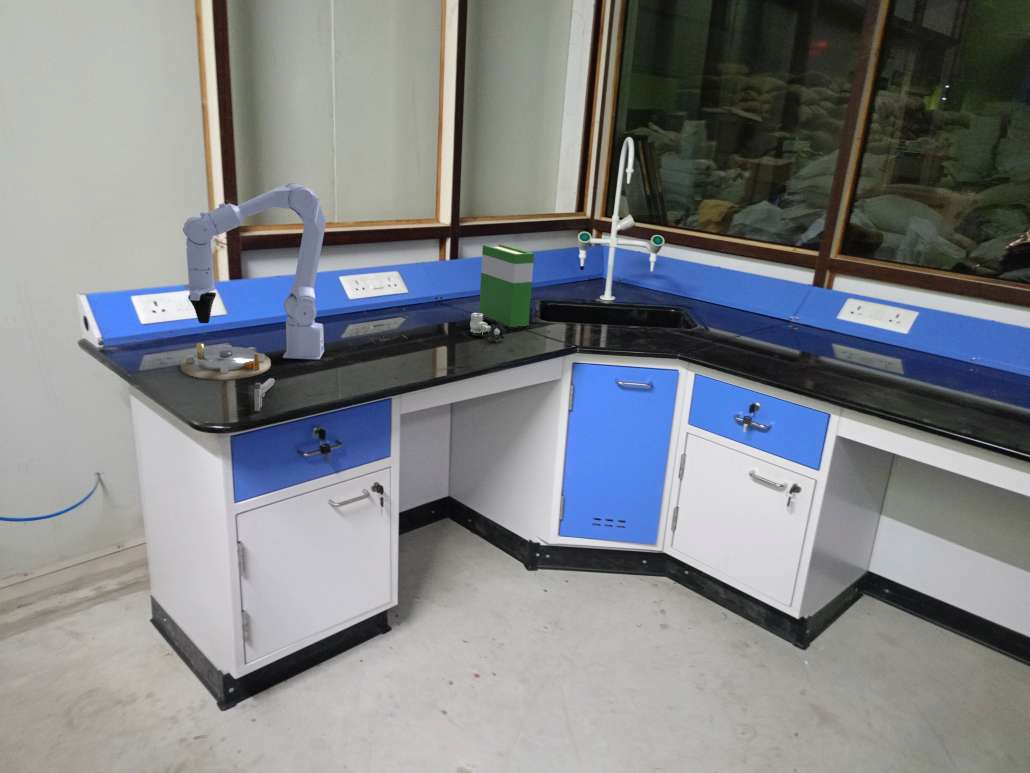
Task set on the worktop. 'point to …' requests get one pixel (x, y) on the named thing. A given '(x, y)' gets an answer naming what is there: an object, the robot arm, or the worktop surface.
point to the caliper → (261, 392)
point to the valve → (486, 327)
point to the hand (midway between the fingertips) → (204, 322)
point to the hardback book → (506, 284)
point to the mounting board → (233, 374)
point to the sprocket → (223, 358)
